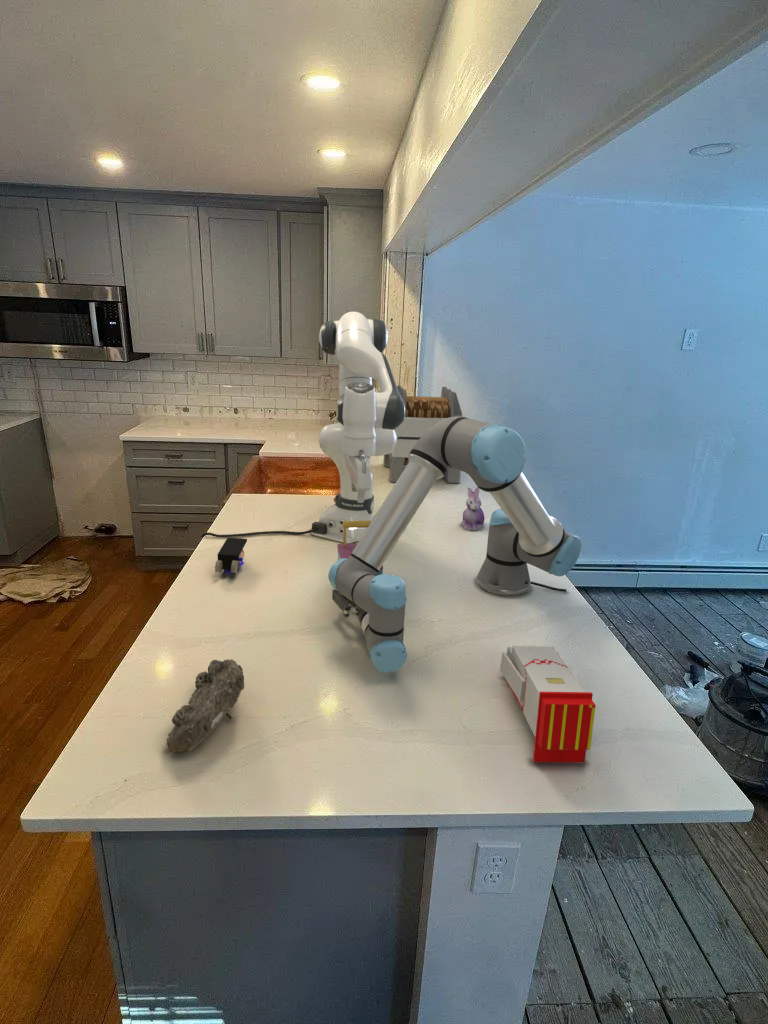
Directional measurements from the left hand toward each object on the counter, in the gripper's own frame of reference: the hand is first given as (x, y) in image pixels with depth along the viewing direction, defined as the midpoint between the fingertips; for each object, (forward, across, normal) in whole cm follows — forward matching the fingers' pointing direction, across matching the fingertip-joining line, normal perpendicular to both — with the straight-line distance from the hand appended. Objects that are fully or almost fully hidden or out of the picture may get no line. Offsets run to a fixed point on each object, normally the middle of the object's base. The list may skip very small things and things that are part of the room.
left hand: (357, 496), depth 154 cm
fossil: (+26, -52, +35) cm, 68 cm away
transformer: (+27, +112, -49) cm, 125 cm away
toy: (+26, -60, -28) cm, 71 cm away
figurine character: (+26, +13, +35) cm, 45 cm away
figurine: (+26, +40, -50) cm, 70 cm away
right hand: (+20, -10, 0) cm, 22 cm away
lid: (+16, -5, 0) cm, 17 cm away
